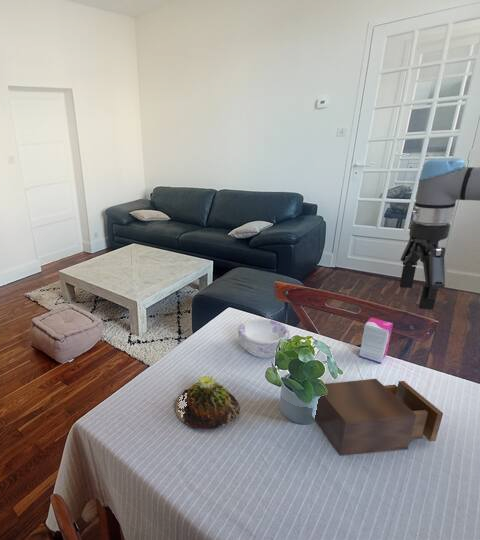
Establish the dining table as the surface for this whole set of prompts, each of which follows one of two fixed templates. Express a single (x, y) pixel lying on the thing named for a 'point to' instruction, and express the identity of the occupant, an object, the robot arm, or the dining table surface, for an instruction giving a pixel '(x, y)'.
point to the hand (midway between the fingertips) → (415, 297)
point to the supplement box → (375, 340)
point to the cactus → (208, 405)
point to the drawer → (419, 411)
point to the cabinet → (364, 418)
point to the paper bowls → (262, 336)
